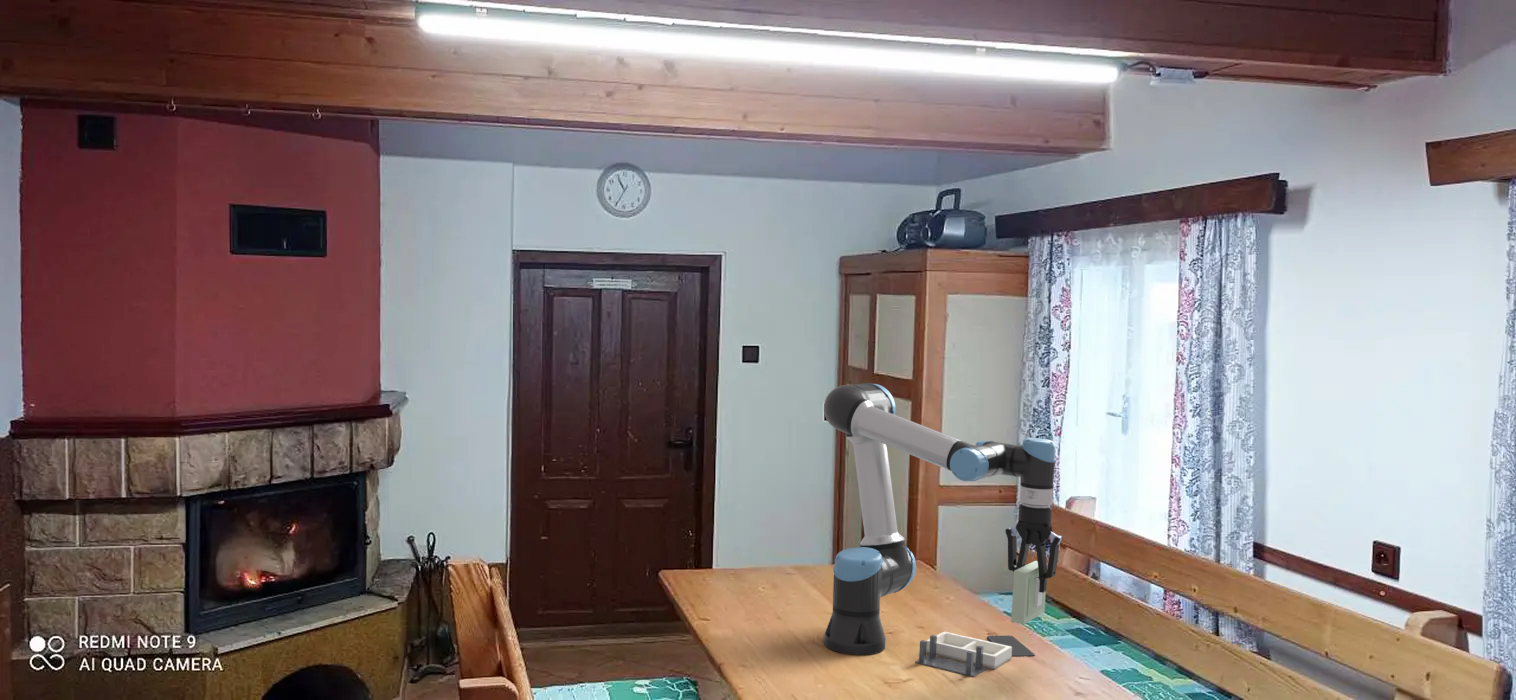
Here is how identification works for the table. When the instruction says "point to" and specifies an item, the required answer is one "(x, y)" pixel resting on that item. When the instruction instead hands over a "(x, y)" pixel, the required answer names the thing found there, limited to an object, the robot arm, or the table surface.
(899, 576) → the robot arm
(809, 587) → the table surface
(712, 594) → the table surface
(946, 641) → the white divided tray
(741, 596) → the table surface
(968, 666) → the grey four-post stand
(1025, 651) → the smartphone
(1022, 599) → the door panel
